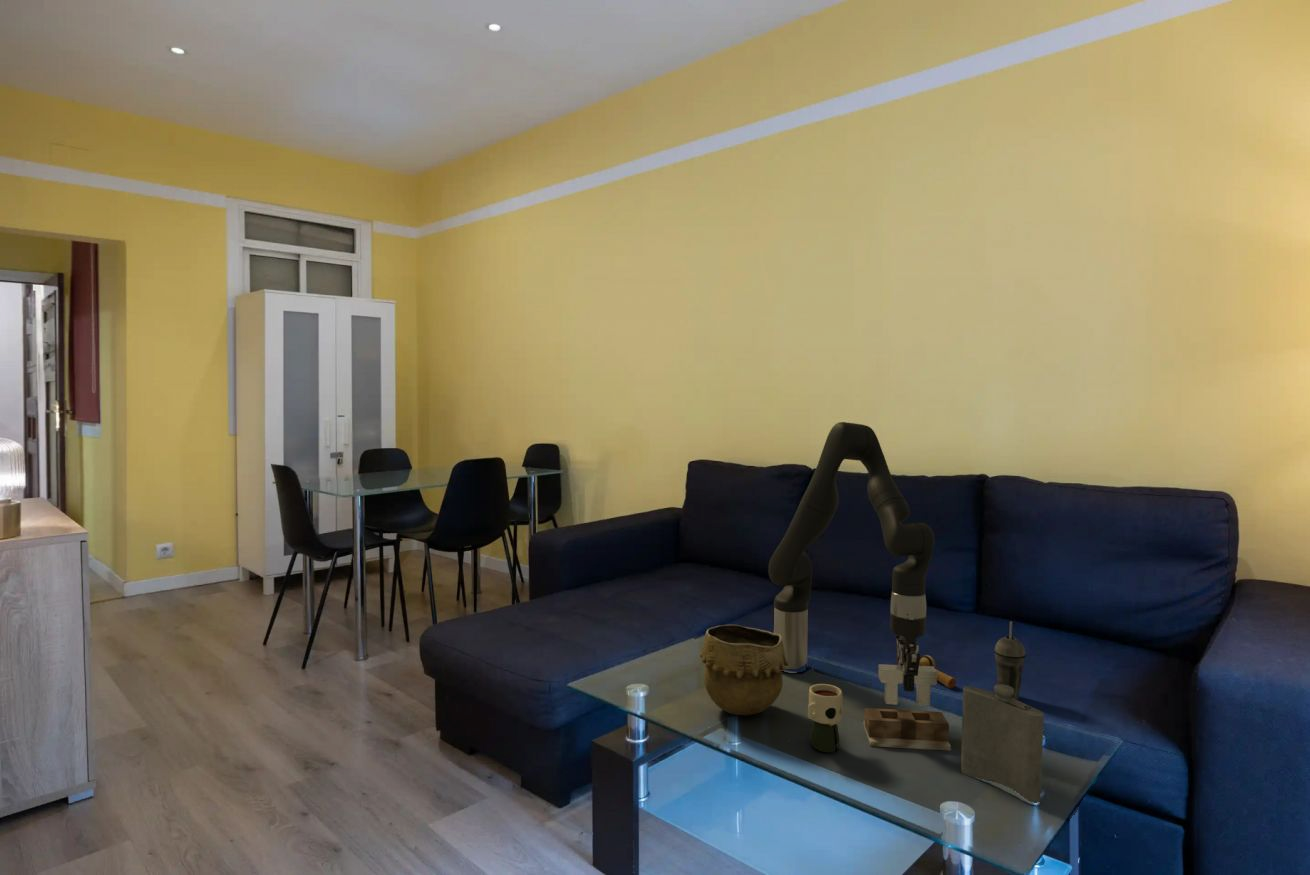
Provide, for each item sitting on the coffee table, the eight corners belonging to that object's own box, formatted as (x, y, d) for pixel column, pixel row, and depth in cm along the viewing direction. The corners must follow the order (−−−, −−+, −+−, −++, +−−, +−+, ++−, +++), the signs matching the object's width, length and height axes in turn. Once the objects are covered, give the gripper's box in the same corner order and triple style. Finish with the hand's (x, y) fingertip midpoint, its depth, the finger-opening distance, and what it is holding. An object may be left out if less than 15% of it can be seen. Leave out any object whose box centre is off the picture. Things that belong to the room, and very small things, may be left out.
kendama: (962, 689, 193) (910, 658, 208) (963, 668, 191) (910, 638, 206) (942, 700, 189) (890, 667, 205) (942, 679, 187) (890, 648, 203)
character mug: (821, 762, 153) (822, 702, 152) (795, 748, 159) (796, 691, 158) (853, 746, 159) (854, 689, 159) (828, 734, 165) (829, 678, 164)
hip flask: (957, 771, 149) (960, 676, 148) (968, 765, 152) (971, 672, 150) (1035, 807, 136) (1038, 704, 135) (1046, 800, 139) (1049, 699, 137)
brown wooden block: (870, 745, 160) (870, 723, 159) (863, 724, 170) (863, 704, 169) (950, 750, 158) (951, 728, 157) (938, 729, 167) (939, 708, 167)
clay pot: (736, 685, 192) (736, 612, 191) (804, 711, 177) (805, 631, 176) (682, 710, 177) (682, 630, 176) (751, 740, 162) (751, 653, 161)
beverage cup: (1024, 694, 186) (1026, 617, 185) (1025, 705, 180) (1027, 626, 178) (992, 689, 189) (994, 614, 188) (992, 700, 183) (995, 622, 181)
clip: (880, 704, 162) (881, 669, 162) (878, 698, 165) (878, 664, 165) (936, 707, 161) (937, 672, 160) (932, 700, 164) (933, 666, 163)
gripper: (884, 602, 169) (883, 674, 170) (897, 621, 155) (895, 700, 156) (918, 603, 168) (916, 675, 169) (933, 622, 154) (932, 701, 155)
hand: (906, 686), depth 163 cm, fingers closed on clip, 3 cm apart
